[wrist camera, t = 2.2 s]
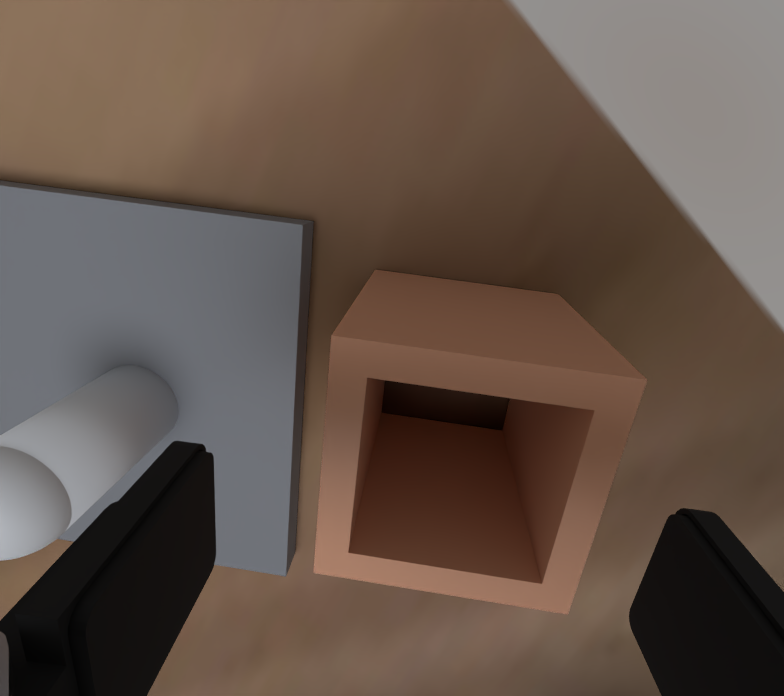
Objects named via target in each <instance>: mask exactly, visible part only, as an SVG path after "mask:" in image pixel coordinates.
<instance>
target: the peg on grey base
mask: <svg viewBox="0 0 784 696" xmlns="http://www.w3.org/2000/svg"><path fill="white" fill-rule="evenodd" d="M313 222H314V221H308V220H301V219H293V218H285V217H278V216H270V215H262V214H255V213H247V212H239V211H232V210H224V209H216V208H209V207H201V206H193V205H185V204H178V203H170V202H162V201H155V200H147V199H139V198H132V197H124V196H116V195H109V194H101V193H93V192H86V191H78V190H70V189H63V188H55V187H47V186H40V185H32V184H24V183H17V182H9V181H1V180H0V560H10V559H15V558H19V557H23V556H26V555H29V554H31V553H34V552H36V551H38V550H40V549H42V548H44V547H45V546H47V545H49V544H50V543H52V542H53V541H55V540H56V539H62V540H68V541H75V540H76V539H77V538H78V537H79V536H80V535H81V534H82V533H83V532H84V531H85V530H86V529H87V528H88V526H89V525H90V524H91V523H92V522H93V521H94V520H95V519H96V518H97V517H98V516H99V515H100V514H101V513H102V511H103V510H104V509H105V508H107V507H108V506H109V505H110V504H111V503H114V502H116V501H119V500H120V498H121V497H122V496H123V495H124V494H125V493H126V492H127V491H128V490H129V489H130V487H131V486H132V485H133V484H134V483H135V482H136V481H137V480H138V479H139V478H140V477H141V475H142V474H143V473H144V472H145V471H146V470H147V469H148V468H149V467H150V466H151V465H152V463H153V462H154V461H155V460H156V459H157V458H158V457H159V456H160V455H161V454H162V453H163V451H164V450H165V449H166V448H167V447H168V446H169V445H170V444H171V443H172V442H173V441H184V442H191V443H199V444H203V445H205V448H206V452H211V453H212V454H213V457H214V485H215V523H216V559H215V563H214V565H220V566H226V567H232V568H238V569H244V570H251V571H257V572H263V573H269V574H275V575H281V576H286V575H287V572H288V570H289V567H290V565H291V562H292V559H293V557H294V554H295V546H296V528H297V510H298V492H299V474H300V456H301V438H302V420H303V402H304V384H305V366H306V348H307V330H308V312H309V294H310V276H311V258H312V240H313Z"/></svg>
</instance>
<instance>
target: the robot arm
mask: <svg viewBox="0 0 784 696" xmlns="http://www.w3.org/2000/svg"><path fill="white" fill-rule="evenodd" d="M215 559H216V523H215V485H214V457H213V454H212V453H211V452H206V448H205V445H203V444H199V443H191V442H184V441H173V442H172V443H171V444H170V445H169V446H168V447H167V448H166V449H165V450H164V451H163V453H162V454H161V455H160V456H159V457H158V458H157V459H156V460H155V461H154V462H153V463H152V465H151V466H150V467H149V468H148V469H147V470H146V471H145V472H144V473H143V474H142V475H141V477H140V478H139V479H138V480H137V481H136V482H135V483H134V484H133V485H132V486H131V487H130V489H129V490H128V491H127V492H126V493H125V494H124V495H123V496H122V497H121V498H120V500H119V501H116V502H114V503H111V504H110V505H109V506H108V507H107V508H105V509H104V510H103V511H102V513H101V514H100V515H99V516H98V517H97V518H96V519H95V520H94V521H93V522H92V523H91V524H90V525H89V526H88V528H87V529H86V530H85V531H84V532H83V533H82V534H81V535H80V536H79V537H78V538H77V539H76V540H75V541H74V542H73V544H72V545H71V546H70V547H69V548H68V549H67V550H66V551H65V552H64V553H63V554H62V555H61V556H60V557H59V559H58V560H57V561H56V562H55V563H54V564H53V565H52V566H51V567H50V568H49V569H48V570H47V571H46V572H45V574H44V575H43V576H42V577H41V578H40V579H39V580H38V581H37V582H36V583H35V584H34V585H33V586H32V587H31V589H30V590H29V591H28V592H27V593H26V594H25V595H24V596H23V597H22V598H21V599H20V600H19V601H18V602H17V604H16V605H15V606H14V607H13V608H12V609H11V610H10V611H9V612H8V613H7V614H6V615H5V616H4V617H3V619H2V620H1V621H0V696H147V694H148V692H149V690H150V688H151V686H152V685H153V683H154V681H155V679H156V677H157V675H158V673H159V671H160V669H161V667H162V665H163V663H164V662H165V660H166V658H167V656H168V654H169V652H170V650H171V648H172V646H173V644H174V642H175V641H176V639H177V637H178V635H179V633H180V631H181V629H182V627H183V625H184V623H185V621H186V620H187V618H188V616H189V614H190V612H191V610H192V608H193V606H194V604H195V602H196V600H197V598H198V597H199V595H200V593H201V591H202V589H203V587H204V585H205V583H206V581H207V579H208V577H209V576H210V574H211V571H212V569H213V566H214V563H215ZM629 621H630V626H631V629H632V632H633V634H634V636H635V638H636V640H637V643H638V645H639V647H640V649H641V651H642V654H643V656H644V658H645V660H646V662H647V665H648V667H649V669H650V671H651V673H652V676H653V678H654V680H655V682H656V684H657V687H658V689H659V691H660V693H661V695H662V696H784V592H783V591H782V590H781V588H780V587H779V586H778V585H777V584H776V583H775V581H774V580H773V579H772V578H771V577H770V576H769V574H768V573H767V572H766V571H765V570H764V569H763V567H762V566H761V565H760V564H759V563H758V562H757V560H756V559H755V558H754V557H753V556H752V555H751V553H750V552H749V551H748V550H747V549H746V548H745V546H744V545H743V544H742V543H741V542H740V541H739V539H738V538H737V537H736V536H735V535H734V534H733V532H732V531H731V530H730V529H729V528H728V527H727V525H726V524H725V523H724V522H723V521H722V520H721V518H720V517H719V516H718V515H716V514H715V513H713V512H708V511H701V510H693V509H686V508H683V509H680V510H678V511H677V512H676V514H673V515H670V516H669V517H668V519H667V521H666V523H665V526H664V528H663V530H662V533H661V535H660V538H659V540H658V543H657V545H656V547H655V550H654V552H653V555H652V557H651V560H650V562H649V564H648V567H647V569H646V572H645V574H644V577H643V579H642V581H641V584H640V586H639V589H638V591H637V594H636V596H635V598H634V601H633V603H632V606H631V608H630V612H629Z"/></svg>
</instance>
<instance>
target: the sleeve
mask: <svg viewBox="0 0 784 696" xmlns="http://www.w3.org/2000/svg"><path fill="white" fill-rule="evenodd" d="M385 380H387V381H394V382H401V383H408V384H415V385H422V386H429V387H436V388H442V389H449V390H456V391H463V392H470V393H477V394H484V395H491V396H498V397H505V398H510V400H509V404H508V408H507V413H506V417H505V422H504V426H503V430H495V429H488V428H481V427H475V426H468V425H461V424H454V423H448V422H441V421H434V420H427V419H420V418H414V417H407V416H400V415H393V414H387V413H381V411H382V403H383V395H384V387H385ZM646 383H647V379H646V378H645V377H644V376H643V375H642V374H641V373H640V372H639V371H638V370H637V369H636V368H634V367H633V366H632V365H631V364H630V363H629V362H628V361H627V360H626V359H625V358H624V357H623V356H622V355H621V354H620V353H619V352H618V351H617V350H616V349H615V348H614V347H613V346H612V345H611V344H610V343H609V342H608V341H607V340H605V339H604V338H603V337H602V336H601V335H600V334H599V333H598V332H597V331H596V330H595V329H594V328H593V327H592V326H591V325H590V324H589V323H588V322H587V321H586V320H585V319H584V318H583V317H582V316H581V315H580V314H579V313H577V312H576V311H575V310H574V309H573V308H572V307H571V306H570V305H569V304H568V303H567V302H566V301H565V300H564V299H563V298H562V297H561V296H560V295H559V294H554V293H547V292H539V291H532V290H525V289H517V288H510V287H502V286H495V285H487V284H480V283H472V282H465V281H457V280H450V279H443V278H435V277H428V276H420V275H413V274H405V273H398V272H390V271H383V270H375V271H374V272H373V274H372V275H371V277H370V278H369V280H368V281H367V283H366V284H365V286H364V287H363V289H362V290H361V292H360V293H359V295H358V296H357V298H356V299H355V301H354V302H353V304H352V305H351V307H350V308H349V310H348V311H347V313H346V314H345V316H344V317H343V319H342V320H341V322H340V323H339V325H338V326H337V328H336V329H335V331H334V332H333V334H332V335H331V346H330V359H329V372H328V386H327V399H326V413H325V426H324V439H323V453H322V466H321V479H320V493H319V506H318V520H317V533H316V546H315V560H314V573H317V574H323V575H330V576H336V577H342V578H348V579H354V580H360V581H366V582H372V583H378V584H384V585H391V586H397V587H403V588H409V589H415V590H421V591H427V592H433V593H439V594H446V595H452V596H458V597H464V598H470V599H476V600H482V601H488V602H494V603H500V604H507V605H513V606H519V607H525V608H531V609H537V610H543V611H549V612H555V613H561V614H568V613H569V610H570V607H571V604H572V601H573V598H574V595H575V592H576V589H577V586H578V583H579V580H580V577H581V574H582V571H583V569H584V566H585V563H586V560H587V557H588V554H589V551H590V548H591V545H592V542H593V539H594V536H595V533H596V530H597V527H598V524H599V521H600V518H601V516H602V513H603V510H604V507H605V504H606V501H607V498H608V495H609V492H610V489H611V486H612V483H613V480H614V477H615V474H616V471H617V468H618V465H619V463H620V460H621V457H622V454H623V451H624V448H625V445H626V442H627V439H628V436H629V433H630V430H631V427H632V424H633V421H634V418H635V415H636V412H637V410H638V407H639V404H640V401H641V398H642V395H643V392H644V389H645V386H646Z"/></svg>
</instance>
